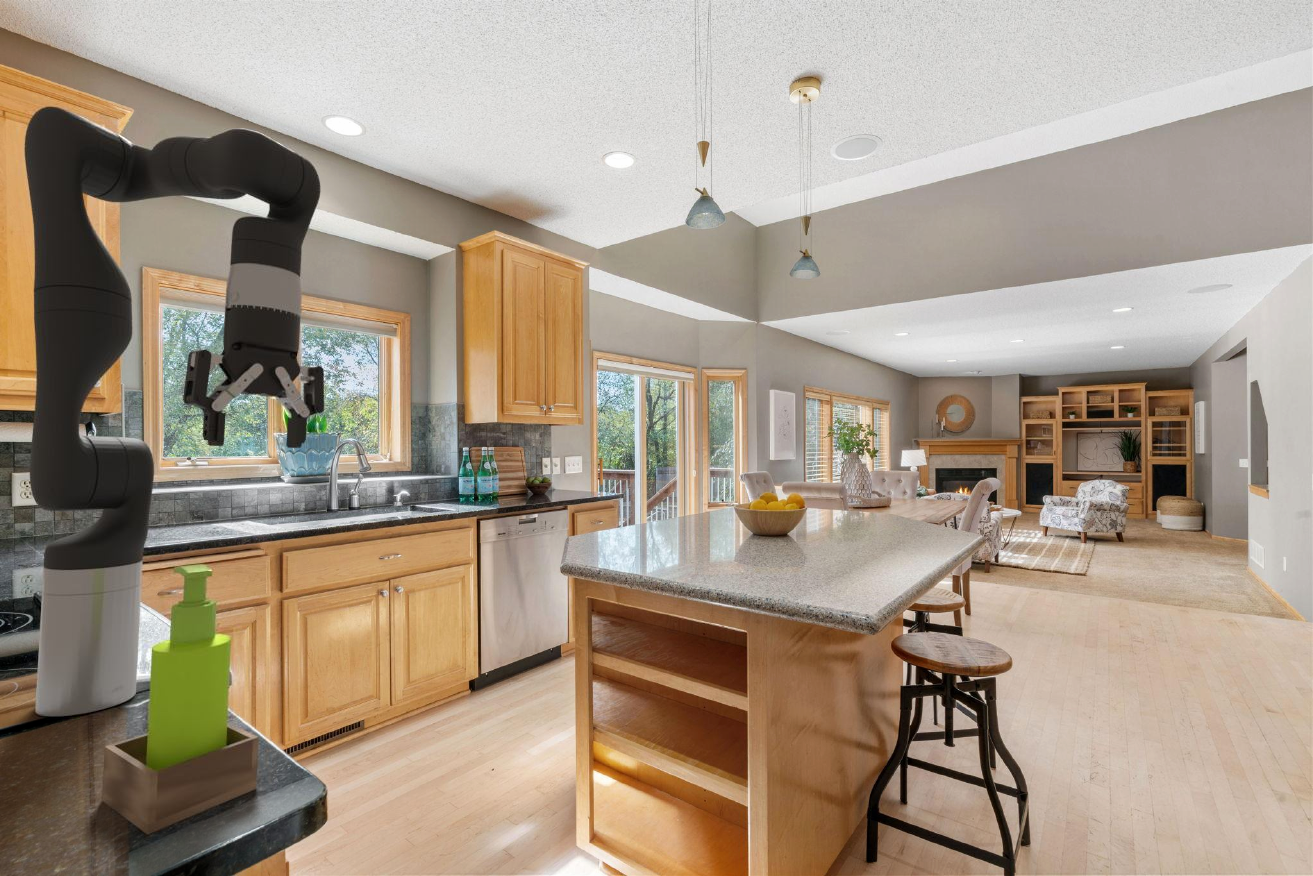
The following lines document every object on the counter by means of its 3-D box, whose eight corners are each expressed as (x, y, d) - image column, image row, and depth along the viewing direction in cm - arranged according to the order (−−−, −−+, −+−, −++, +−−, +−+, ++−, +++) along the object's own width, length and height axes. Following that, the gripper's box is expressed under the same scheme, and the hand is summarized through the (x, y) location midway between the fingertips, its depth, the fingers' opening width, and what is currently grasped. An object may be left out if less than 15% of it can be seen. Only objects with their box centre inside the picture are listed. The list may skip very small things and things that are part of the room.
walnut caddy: (101, 800, 55) (104, 746, 56) (207, 762, 63) (209, 714, 63) (147, 834, 51) (150, 775, 51) (256, 788, 58) (258, 737, 58)
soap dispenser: (211, 759, 61) (220, 559, 62) (233, 784, 57) (242, 567, 58) (135, 782, 57) (146, 565, 58) (152, 811, 52) (164, 575, 53)
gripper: (306, 324, 80) (300, 448, 80) (178, 298, 68) (169, 444, 68) (340, 319, 77) (333, 449, 76) (210, 291, 64) (201, 446, 64)
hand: (256, 446), depth 72 cm, fingers open, 8 cm apart
